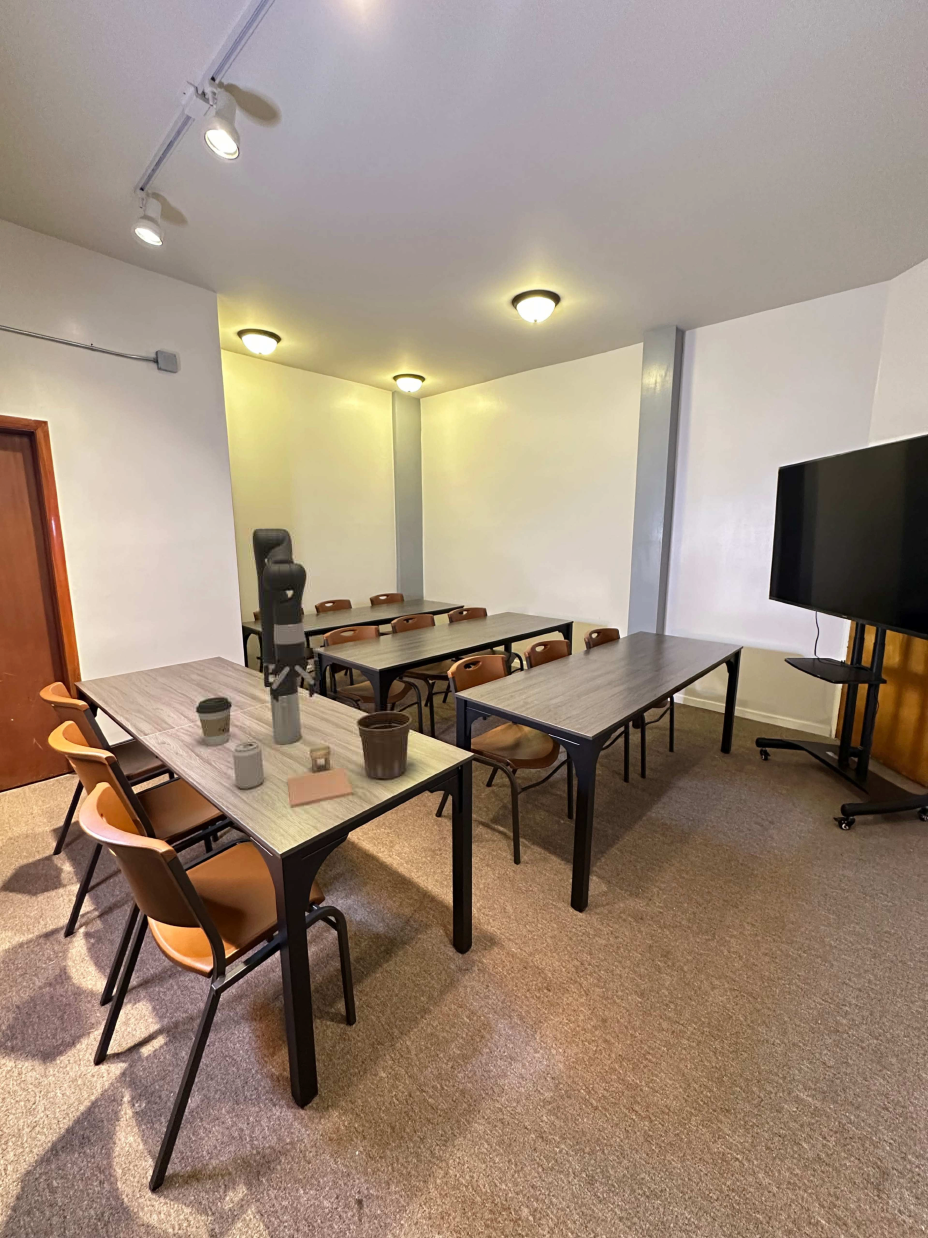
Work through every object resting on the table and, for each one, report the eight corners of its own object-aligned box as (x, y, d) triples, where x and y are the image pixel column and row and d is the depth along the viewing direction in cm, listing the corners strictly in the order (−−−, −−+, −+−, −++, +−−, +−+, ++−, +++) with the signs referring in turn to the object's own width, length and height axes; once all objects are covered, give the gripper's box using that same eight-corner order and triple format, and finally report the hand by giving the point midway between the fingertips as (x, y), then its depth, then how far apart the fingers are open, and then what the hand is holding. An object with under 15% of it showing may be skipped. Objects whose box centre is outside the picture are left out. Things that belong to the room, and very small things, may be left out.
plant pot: (388, 754, 158) (386, 707, 156) (424, 768, 148) (422, 717, 146) (348, 773, 146) (345, 722, 143) (384, 789, 136) (381, 734, 133)
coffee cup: (220, 749, 165) (216, 707, 163) (191, 747, 168) (187, 705, 165) (242, 736, 176) (238, 696, 174) (214, 734, 179) (210, 695, 176)
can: (268, 777, 144) (264, 739, 143) (258, 789, 137) (254, 749, 135) (242, 778, 144) (239, 740, 142) (231, 790, 137) (227, 750, 135)
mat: (287, 781, 142) (287, 778, 142) (343, 770, 148) (343, 767, 148) (291, 807, 127) (291, 805, 127) (352, 794, 133) (352, 791, 133)
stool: (310, 766, 151) (308, 747, 150) (329, 762, 153) (328, 743, 152) (312, 774, 145) (310, 754, 144) (332, 770, 148) (331, 750, 147)
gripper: (316, 634, 134) (320, 691, 136) (260, 639, 128) (265, 698, 131) (319, 640, 127) (323, 699, 130) (260, 645, 121) (265, 707, 124)
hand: (294, 698), depth 130 cm, fingers open, 8 cm apart
